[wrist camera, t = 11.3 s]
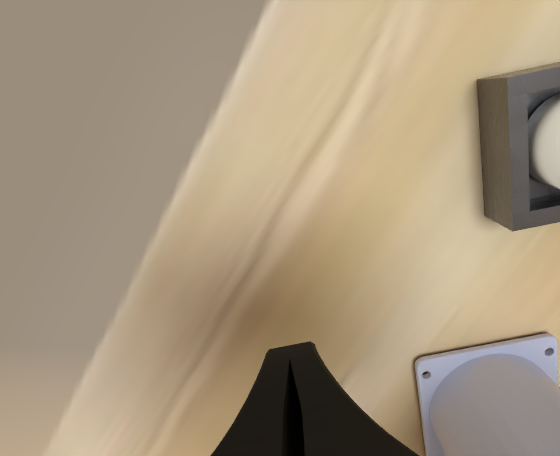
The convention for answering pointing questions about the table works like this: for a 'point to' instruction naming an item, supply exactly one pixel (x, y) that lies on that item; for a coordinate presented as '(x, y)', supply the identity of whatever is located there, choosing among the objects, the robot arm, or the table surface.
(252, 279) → the table surface
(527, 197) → the button housing
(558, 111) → the button
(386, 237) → the table surface
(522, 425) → the robot arm
